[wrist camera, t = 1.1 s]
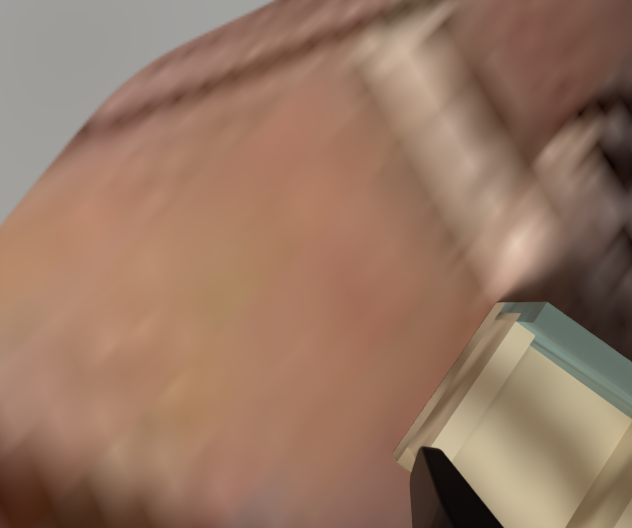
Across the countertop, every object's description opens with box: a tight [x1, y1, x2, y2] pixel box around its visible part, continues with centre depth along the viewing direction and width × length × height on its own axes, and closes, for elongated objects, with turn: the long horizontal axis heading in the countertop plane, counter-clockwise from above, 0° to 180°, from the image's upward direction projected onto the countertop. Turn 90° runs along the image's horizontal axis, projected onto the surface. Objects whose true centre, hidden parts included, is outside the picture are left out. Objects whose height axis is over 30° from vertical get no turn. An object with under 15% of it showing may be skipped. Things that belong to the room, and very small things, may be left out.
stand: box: [393, 302, 632, 528], centre depth 20 cm, size 11×10×5 cm
